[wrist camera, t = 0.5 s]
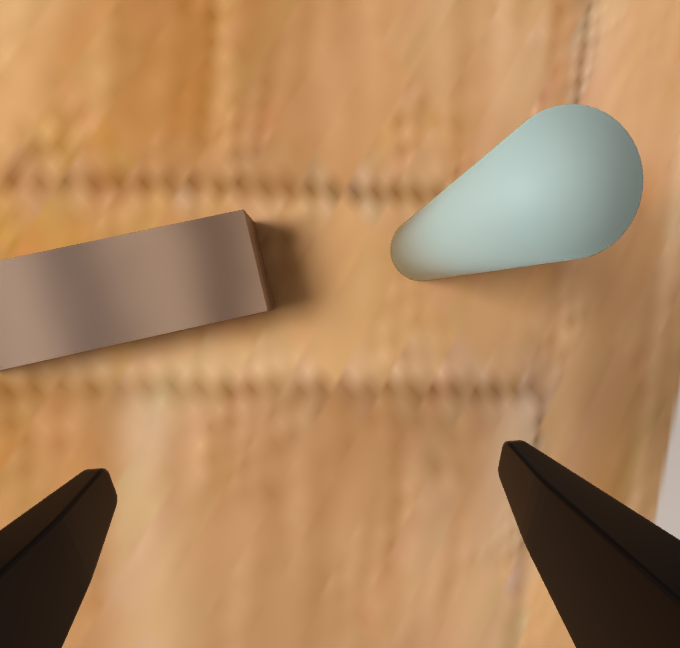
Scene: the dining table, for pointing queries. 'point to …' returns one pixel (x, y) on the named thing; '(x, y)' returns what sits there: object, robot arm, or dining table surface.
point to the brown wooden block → (130, 288)
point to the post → (529, 200)
